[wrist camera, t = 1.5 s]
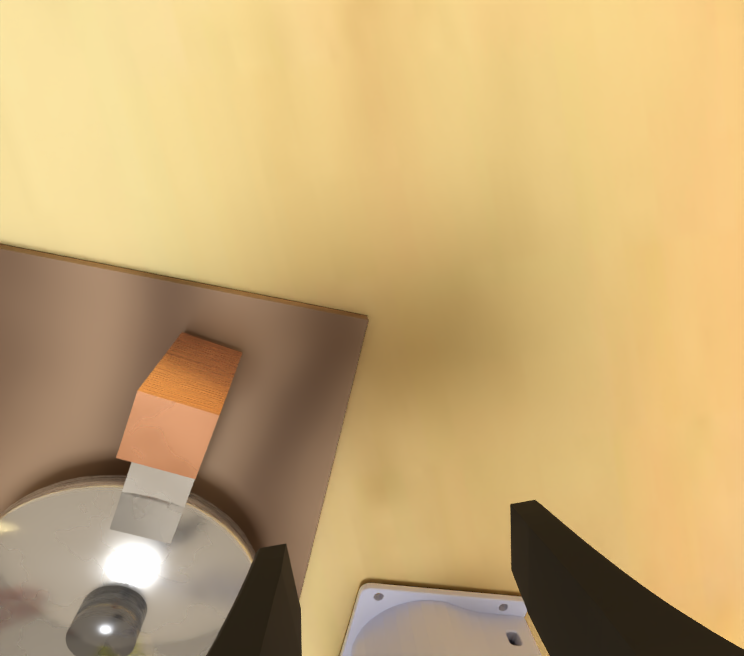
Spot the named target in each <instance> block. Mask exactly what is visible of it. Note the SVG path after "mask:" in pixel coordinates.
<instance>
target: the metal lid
mask: <svg viewBox="0 0 744 656" xmlns="http://www.w3.org/2000/svg"><path fill="white" fill-rule="evenodd" d="M242 353H243V352H240V351H237V350H234V349H231V348H228V347H225V346H222V345H219V344H216V343H213V342H210V341H207V340H204V339H201V338H198V337H195V336H192V335H190V334H187V333H184V332H182V333H181V334H180V335H179V337H178V338H177V339H176V341H175V342H174V343H173V344H172V346H171V347H170V348H169V350H168V351H167V352H166V354H165V355H164V356H163V358H162V359H161V360H160V362H159V363H158V364H157V366H156V367H155V368H154V369H153V371H152V372H151V373H150V375H149V376H148V377H147V379H146V380H145V381H144V383H143V384H142V385H141V387H140V388H139V389H138V391H137V394H136V397H135V400H134V403H133V406H132V409H131V413H130V416H129V419H128V422H127V425H126V428H125V431H124V435H123V438H122V441H121V444H120V447H119V450H118V453H117V457H116V458H118V459H122V460H126V461H130V462H131V465H130V468H129V472H128V475H96V476H86V477H79V478H74V479H69V480H65V481H60V482H57V483H54V484H51V485H49V486H46V487H43V488H40V489H38V490H36V491H34V492H32V493H30V494H28V495H26V496H24V497H23V498H21V499H20V500H18V501H17V502H15V503H14V504H12V505H11V506H9V507H8V508H7V509H6V510H5V511H4V512H2V513H1V514H0V656H206V655H207V653H208V651H209V649H210V648H211V646H212V644H213V642H214V640H215V639H216V637H217V635H218V633H219V631H220V629H221V627H222V625H223V623H224V621H225V619H226V617H227V615H228V613H229V611H230V609H231V607H232V605H233V603H234V601H235V599H236V597H237V595H238V593H239V591H240V589H241V587H242V584H243V582H244V580H245V578H246V575H247V573H248V571H249V569H250V566H251V564H252V561H253V559H254V557H255V554H256V553H255V551H254V549H253V547H252V545H251V543H250V541H249V539H248V538H247V537H246V535H245V534H244V533H243V531H242V530H241V529H240V527H239V526H238V525H237V524H236V523H235V522H234V521H233V520H232V519H231V518H230V517H229V516H228V515H227V514H226V513H224V512H223V511H222V510H220V509H219V508H218V507H216V506H215V505H214V504H212V503H211V502H209V501H207V500H205V499H204V498H202V497H200V496H199V495H197V494H194V493H192V492H190V491H191V488H192V486H193V483H194V480H195V479H196V476H197V474H198V471H199V468H200V466H201V463H202V460H203V458H204V455H205V452H206V450H207V447H208V445H209V442H210V439H211V437H212V434H213V431H214V429H215V426H216V423H217V421H218V418H219V415H220V413H221V410H222V407H223V404H224V402H225V399H226V396H227V394H228V391H229V388H230V385H231V383H232V380H233V377H234V374H235V372H236V369H237V366H238V363H239V361H240V358H241V355H242Z"/></svg>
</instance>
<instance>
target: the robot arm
mask: <svg viewBox="0 0 744 656" xmlns="http://www.w3.org/2000/svg"><path fill="white" fill-rule="evenodd" d="M510 507H511V570H512V572H513V575H514V578H515V580H516V583H517V586H518V588H519V591H520V594H521V596H522V597H520V596H510V595H499V594H488V593H476V592H465V591H454V590H443V589H432V588H421V587H410V586H399V585H388V584H377V583H366V584H364V585H362V586H361V587H360V589H359V592H358V595H357V599H356V602H355V605H354V609H353V612H352V616H351V619H350V622H349V626H348V629H347V633H346V636H345V639H344V643H343V646H342V650H341V653H340V656H542V655H541V653H540V650H539V648H538V646H537V644H536V642H535V640H534V637H533V635H532V633H531V631H530V629H529V626H528V624H527V622H526V620H525V618H524V617H525V615H526V612H527V611H528V614H529V616H530V618H531V620H532V622H533V624H534V626H535V628H536V630H537V632H538V634H539V636H540V638H541V639H542V641H543V643H544V645H545V647H546V649H547V651H548V653H549V655H550V656H744V649H742V648H740V647H738V646H736V645H735V644H733V643H731V642H729V641H728V640H726V639H724V638H723V637H721V636H719V635H717V634H716V633H714V632H712V631H711V630H709V629H707V628H706V627H704V626H703V625H701V624H700V623H698V622H696V621H695V620H693V619H692V618H690V617H688V616H687V615H685V614H684V613H682V612H680V611H679V610H677V609H676V608H674V607H673V606H671V605H670V604H668V603H667V602H665V601H664V600H662V599H661V598H659V597H658V596H656V595H655V594H654V593H652V592H651V591H649V590H648V589H647V588H645V587H644V586H642V585H641V584H639V583H638V582H637V581H635V580H634V579H633V578H631V577H630V576H629V575H627V574H626V573H625V572H623V571H622V570H621V569H619V568H618V567H617V566H615V565H614V564H613V563H612V562H610V561H609V560H608V559H606V558H605V557H604V556H603V555H601V554H600V553H599V552H597V551H596V550H595V549H594V548H592V547H591V546H590V545H589V544H587V543H586V542H585V541H584V540H583V539H581V538H580V537H579V536H578V535H576V534H575V533H574V532H573V531H572V530H570V529H569V528H568V527H567V526H566V525H565V524H563V523H562V522H561V521H560V520H559V519H557V518H556V517H555V516H554V515H553V514H552V513H550V512H549V511H548V510H547V509H546V508H544V507H543V506H542V505H541V504H540V503H538V502H537V501H536V500H532V501H526V502H521V503H515V504H510ZM377 593H380V594H377ZM206 656H302V649H301V608H300V603H299V599H298V594H297V590H296V585H295V580H294V576H293V571H292V567H291V562H290V558H289V553H288V549H287V544H280V545H274V546H269V547H263V548H260V549H259V550H258V551H257V552H256V554H255V557H254V559H253V561H252V564H251V566H250V569H249V571H248V573H247V575H246V578H245V580H244V582H243V584H242V587H241V589H240V591H239V593H238V595H237V597H236V599H235V601H234V603H233V605H232V607H231V609H230V611H229V613H228V615H227V617H226V619H225V621H224V623H223V625H222V627H221V629H220V631H219V633H218V635H217V637H216V639H215V640H214V642H213V644H212V646H211V648H210V649H209V651H208V653H207V655H206Z"/></svg>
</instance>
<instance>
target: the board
mask: <svg viewBox="0 0 744 656" xmlns="http://www.w3.org/2000/svg"><path fill="white" fill-rule="evenodd" d="M367 324H368V317H367V316H366V315H361V314H356V313H351V312H346V311H341V310H336V309H331V308H325V307H320V306H315V305H310V304H305V303H300V302H295V301H290V300H284V299H279V298H274V297H269V296H264V295H259V294H254V293H249V292H244V291H238V290H233V289H228V288H223V287H218V286H213V285H208V284H203V283H197V282H192V281H187V280H182V279H177V278H172V277H167V276H162V275H156V274H151V273H146V272H141V271H136V270H131V269H126V268H121V267H115V266H110V265H105V264H100V263H95V262H90V261H85V260H80V259H75V258H69V257H64V256H59V255H54V254H49V253H44V252H39V251H34V250H28V249H23V248H18V247H13V246H8V245H3V244H0V514H1V513H2V512H4V511H5V510H6V509H7V508H8V507H9V506H11V505H12V504H14V503H15V502H17V501H18V500H20V499H21V498H23V497H24V496H26V495H28V494H30V493H32V492H34V491H36V490H38V489H40V488H43V487H46V486H49V485H51V484H54V483H57V482H60V481H65V480H69V479H74V478H79V477H86V476H96V475H128V472H129V468H130V465H131V462H130V461H126V460H122V459H118V458H116V457H117V453H118V450H119V447H120V444H121V441H122V438H123V435H124V431H125V428H126V425H127V422H128V419H129V416H130V413H131V409H132V406H133V403H134V400H135V397H136V394H137V391H138V389H139V388H140V387H141V385H142V384H143V383H144V381H145V380H146V379H147V377H148V376H149V375H150V373H151V372H152V371H153V369H154V368H155V367H156V366H157V364H158V363H159V362H160V360H161V359H162V358H163V356H164V355H165V354H166V352H167V351H168V350H169V348H170V347H171V346H172V344H173V343H174V342H175V341H176V339H177V338H178V337H179V335H180V334H181V333H182V332H184V333H187V334H190V335H192V336H195V337H198V338H201V339H204V340H207V341H210V342H213V343H216V344H219V345H222V346H225V347H228V348H231V349H234V350H237V351H240V352H243V353H242V355H241V358H240V361H239V363H238V366H237V369H236V372H235V374H234V377H233V380H232V383H231V385H230V388H229V391H228V394H227V396H226V399H225V402H224V404H223V407H222V410H221V413H220V415H219V418H218V421H217V423H216V426H215V429H214V431H213V434H212V437H211V439H210V442H209V445H208V447H207V450H206V452H205V455H204V458H203V460H202V463H201V466H200V468H199V471H198V474H197V476H196V479H195V480H194V483H193V486H192V488H191V491H190V492H192V493H194V494H197V495H199V496H200V497H202V498H204V499H205V500H207V501H209V502H211V503H212V504H214V505H215V506H216V507H218V508H219V509H220V510H222V511H223V512H224V513H226V514H227V515H228V516H229V517H230V518H231V519H232V520H233V521H234V522H235V523H236V524H237V525H238V526H239V527H240V529H241V530H242V531H243V533H244V534H245V535H246V537H247V538H248V539H249V541H250V543H251V545H252V547H253V549H254V551H255V553H256V552H257V551H258V550H259V549H260V548H263V547H269V546H274V545H280V544H287V549H288V553H289V558H290V562H291V567H292V571H293V576H294V580H295V585H296V590H297V594H298V599H299V598H300V594H301V590H302V586H303V582H304V578H305V574H306V570H307V566H308V562H309V558H310V554H311V550H312V546H313V542H314V538H315V534H316V530H317V526H318V522H319V518H320V514H321V510H322V506H323V502H324V498H325V494H326V490H327V486H328V482H329V477H330V473H331V469H332V465H333V461H334V457H335V453H336V449H337V445H338V441H339V437H340V433H341V429H342V425H343V421H344V417H345V413H346V409H347V405H348V401H349V397H350V393H351V389H352V385H353V381H354V377H355V373H356V369H357V365H358V361H359V357H360V352H361V348H362V344H363V340H364V336H365V332H366V328H367Z"/></svg>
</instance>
